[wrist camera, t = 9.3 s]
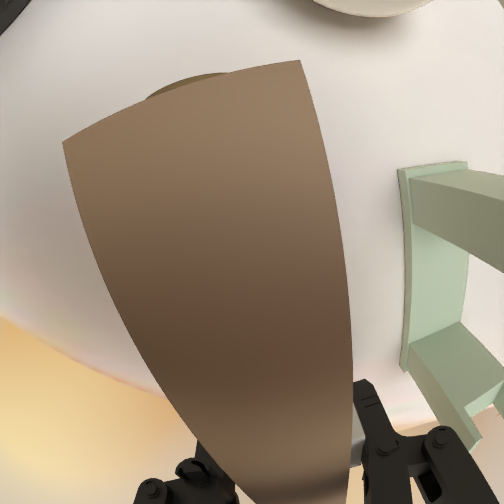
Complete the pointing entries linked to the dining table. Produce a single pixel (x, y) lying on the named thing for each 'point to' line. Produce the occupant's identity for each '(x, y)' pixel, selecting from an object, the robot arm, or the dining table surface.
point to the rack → (449, 289)
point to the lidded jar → (373, 6)
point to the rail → (231, 270)
